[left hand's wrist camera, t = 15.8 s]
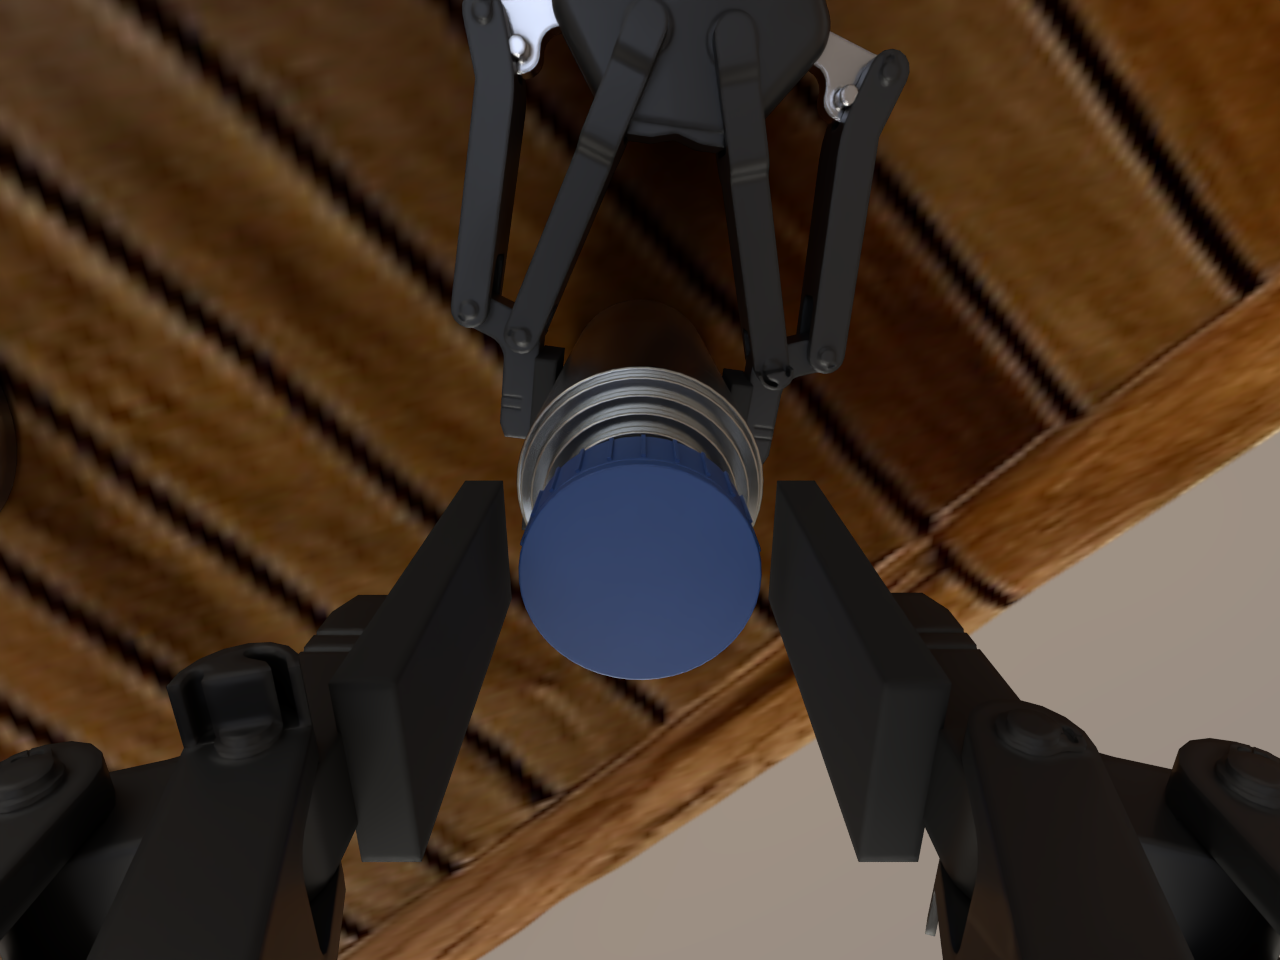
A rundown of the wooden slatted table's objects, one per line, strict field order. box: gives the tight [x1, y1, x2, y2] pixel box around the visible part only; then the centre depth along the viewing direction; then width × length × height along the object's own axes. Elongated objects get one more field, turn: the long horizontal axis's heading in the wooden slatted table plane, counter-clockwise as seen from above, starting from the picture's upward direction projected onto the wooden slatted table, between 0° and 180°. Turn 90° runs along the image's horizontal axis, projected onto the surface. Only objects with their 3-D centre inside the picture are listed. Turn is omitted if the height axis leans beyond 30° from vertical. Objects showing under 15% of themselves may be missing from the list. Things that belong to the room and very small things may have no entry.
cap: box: [519, 434, 762, 680], centre depth 14 cm, size 5×5×2 cm
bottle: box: [517, 299, 763, 526], centre depth 22 cm, size 6×6×19 cm
